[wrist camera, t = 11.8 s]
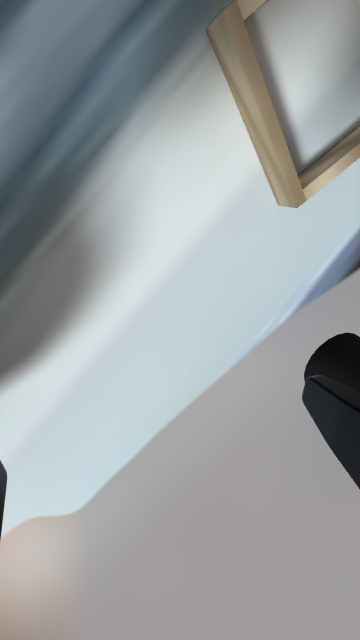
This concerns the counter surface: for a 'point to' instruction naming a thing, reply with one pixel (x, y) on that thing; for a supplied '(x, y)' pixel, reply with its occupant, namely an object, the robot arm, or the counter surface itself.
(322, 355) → the wine bottle
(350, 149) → the frame
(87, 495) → the counter surface
